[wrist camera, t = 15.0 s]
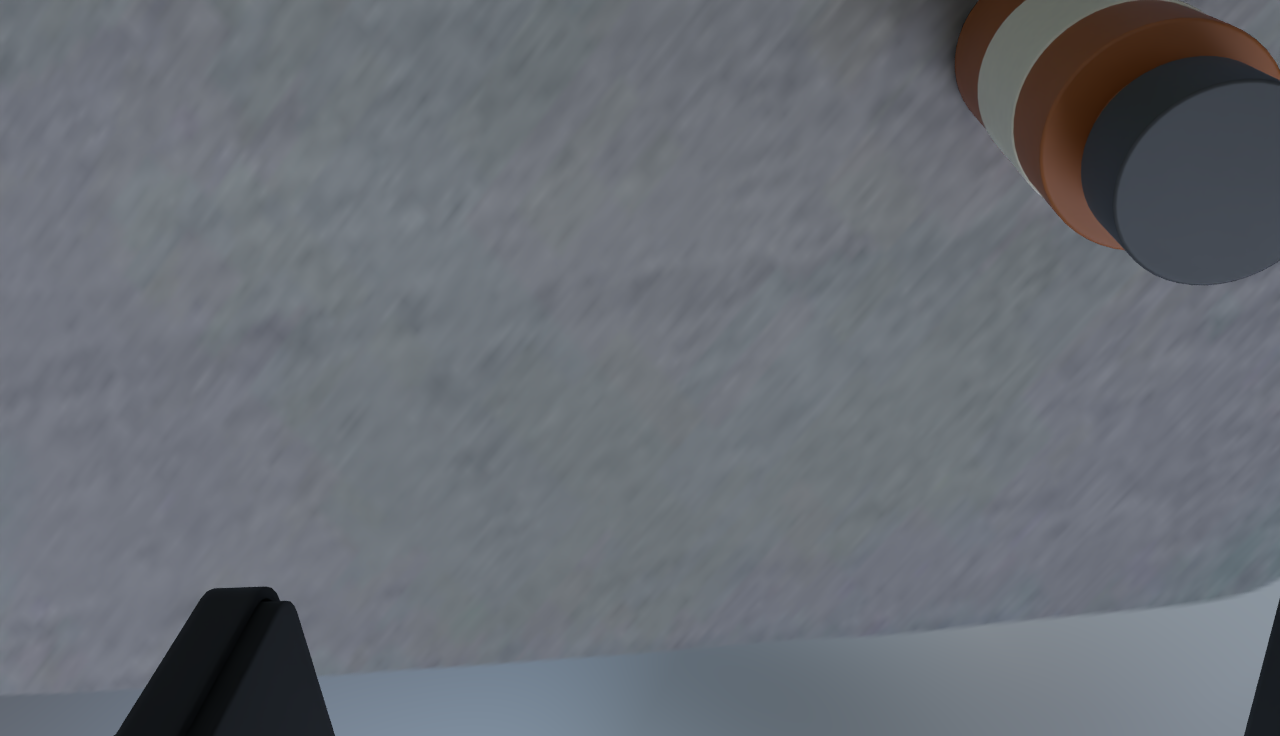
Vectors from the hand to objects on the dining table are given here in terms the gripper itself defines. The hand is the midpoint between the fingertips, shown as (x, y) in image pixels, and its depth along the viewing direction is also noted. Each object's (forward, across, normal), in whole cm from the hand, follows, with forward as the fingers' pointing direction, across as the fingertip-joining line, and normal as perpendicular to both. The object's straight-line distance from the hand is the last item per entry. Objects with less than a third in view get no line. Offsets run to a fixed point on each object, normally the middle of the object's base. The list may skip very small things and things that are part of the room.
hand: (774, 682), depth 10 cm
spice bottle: (+23, -9, -1) cm, 24 cm away
